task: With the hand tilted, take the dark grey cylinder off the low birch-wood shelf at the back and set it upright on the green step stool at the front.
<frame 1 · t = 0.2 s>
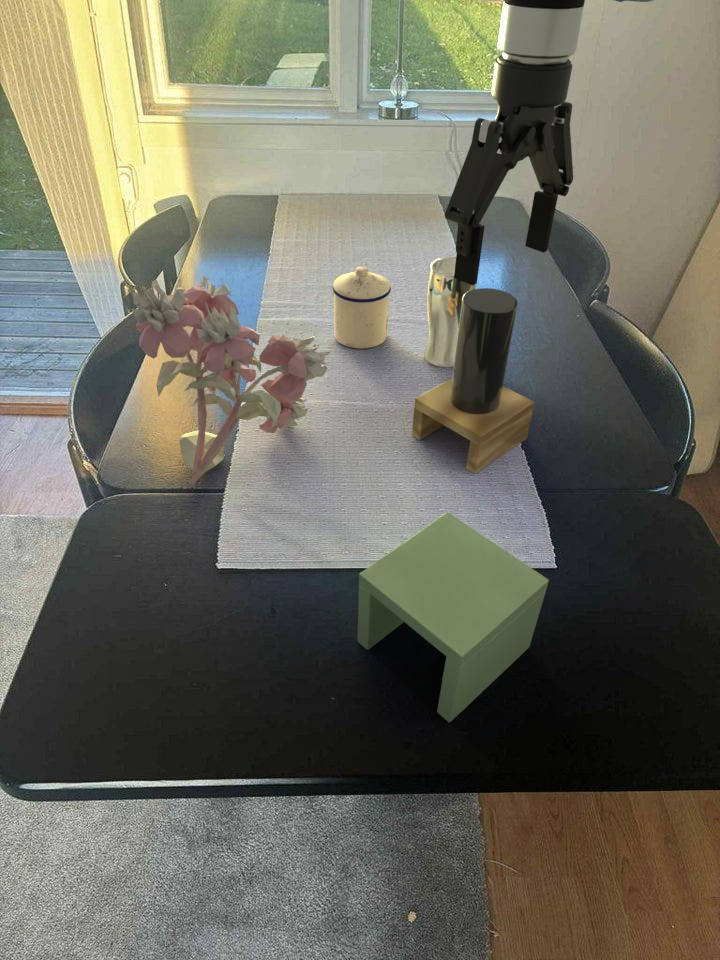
hand: (502, 264, 82), 23 cm above the table, tool pointing down, fingers open, 13 cm apart
beer glass: (443, 358, 110), on the table
low shelf: (469, 437, 94), on the table
flower: (249, 439, 94), on the table
teacup with lid: (355, 333, 116), on the table
green step stool: (443, 644, 69), on the table
dark grey cylinder: (474, 400, 91), point 6 cm above the table, touching low shelf
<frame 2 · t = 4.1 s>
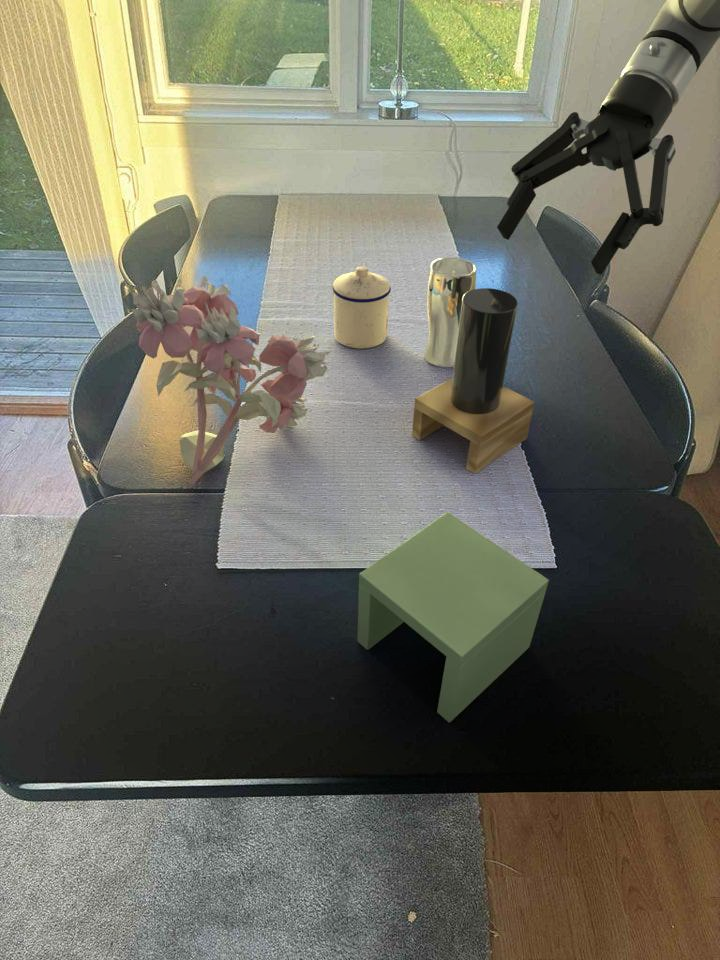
hand: (547, 250, 85), 23 cm above the table, tool tilted 45°, fingers open, 13 cm apart
nothing on the table moved.
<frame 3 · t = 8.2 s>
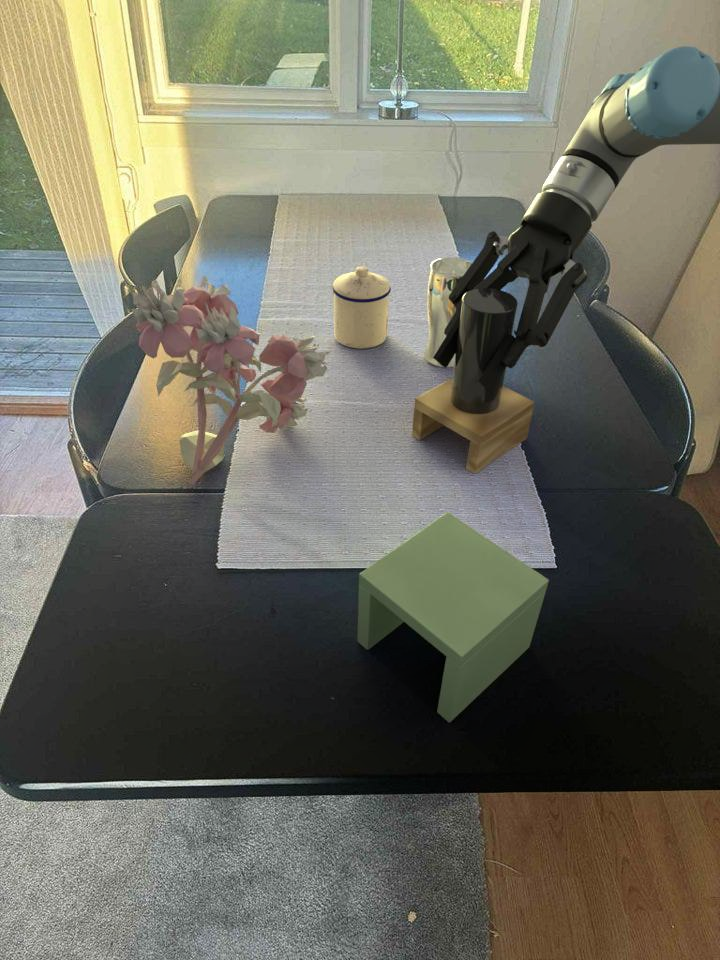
hand: (461, 374, 85), 11 cm above the table, tool tilted 45°, fingers closed on dark grey cylinder, 6 cm apart
dark grey cylinder: (474, 400, 91), point 6 cm above the table, touching gripper, low shelf
everything else where it was.
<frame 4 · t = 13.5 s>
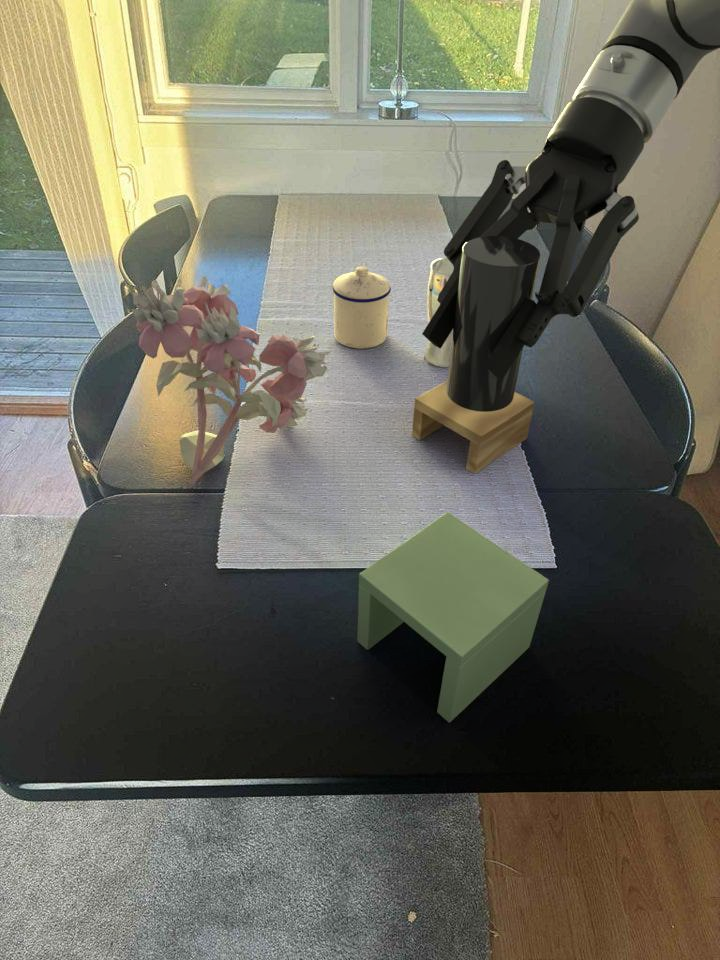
hand: (461, 356, 61), 25 cm above the table, tool tilted 45°, fingers closed on dark grey cylinder, 6 cm apart
dark grey cylinder: (479, 393, 67), point 20 cm above the table, touching gripper
everything else where it was.
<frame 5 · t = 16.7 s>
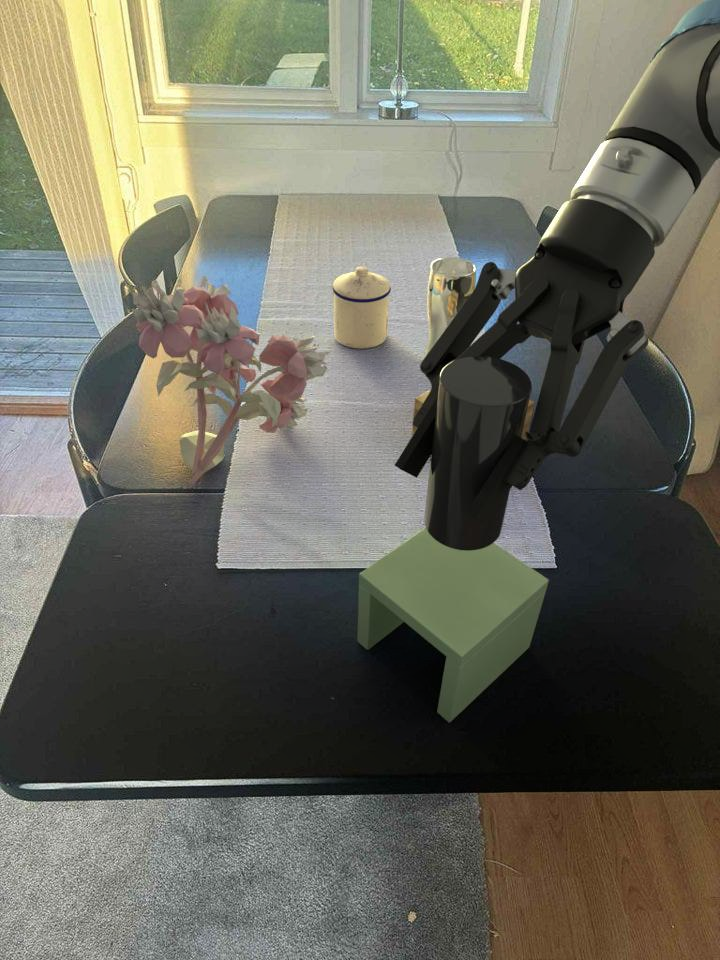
hand: (440, 493, 53), 22 cm above the table, tool tilted 45°, fingers closed on dark grey cylinder, 6 cm apart
dark grey cylinder: (462, 522, 58), point 17 cm above the table, touching gripper
everything else where it was.
when the fingers open (15 cm above the table, at t = 18.9 s): dark grey cylinder stays where it is, resting on green step stool.
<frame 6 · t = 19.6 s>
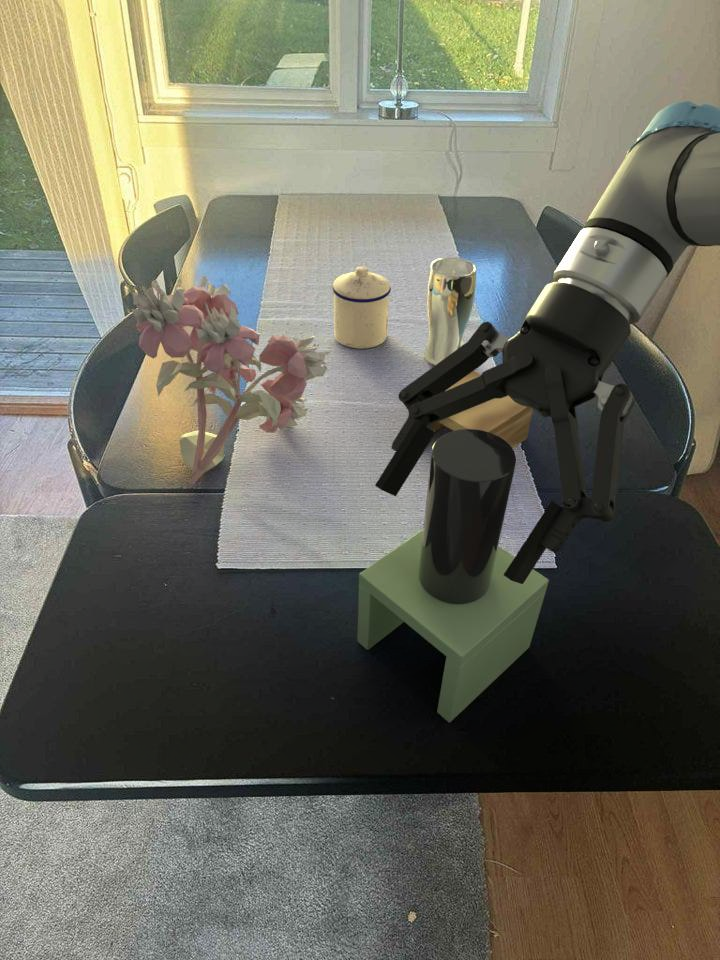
hand: (444, 533, 56), 17 cm above the table, tool tilted 45°, fingers open, 13 cm apart
dark grey cylinder: (454, 576, 62), point 10 cm above the table, touching green step stool
everything else where it was.
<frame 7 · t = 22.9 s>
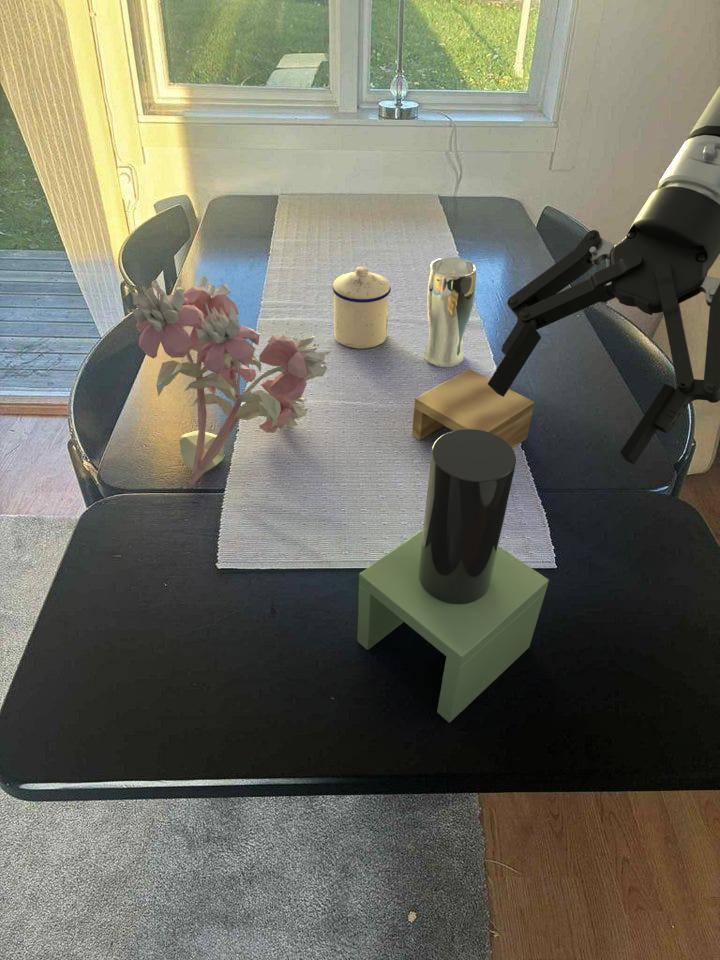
hand: (557, 423, 61), 21 cm above the table, tool tilted 45°, fingers open, 13 cm apart
nothing on the table moved.
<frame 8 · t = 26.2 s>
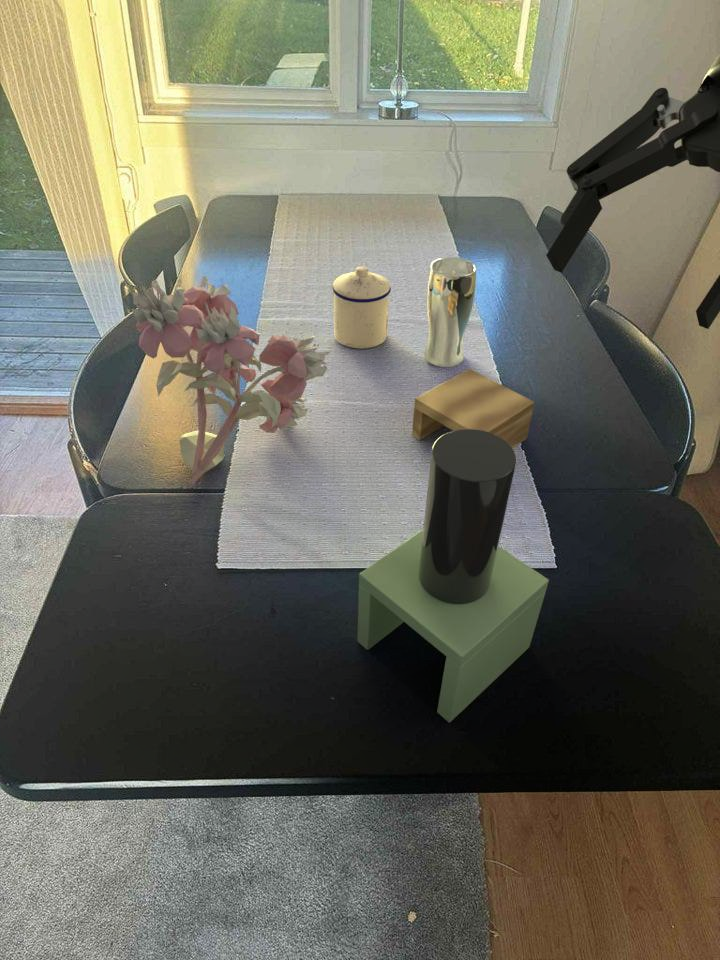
hand: (622, 291, 57), 32 cm above the table, tool tilted 45°, fingers open, 13 cm apart
nothing on the table moved.
at the end: dark grey cylinder inside the target area on the green step stool (0.0 cm from its centre), point 10.0 cm above the green step stool's base; dark grey cylinder tilted 0°; the gripper is holding nothing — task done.
